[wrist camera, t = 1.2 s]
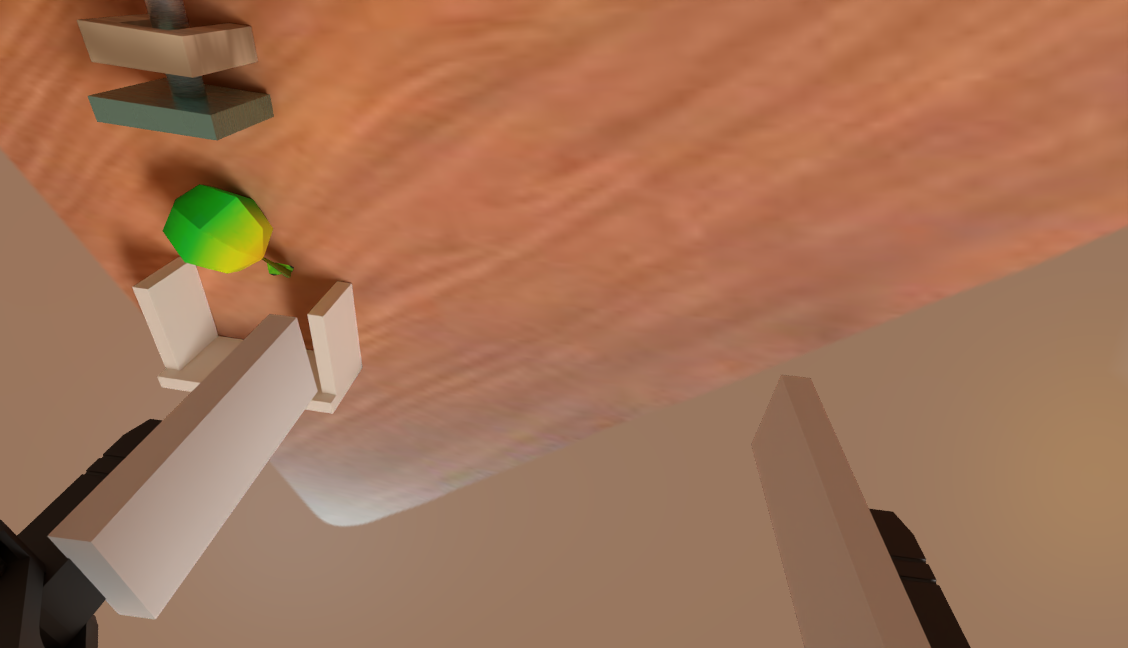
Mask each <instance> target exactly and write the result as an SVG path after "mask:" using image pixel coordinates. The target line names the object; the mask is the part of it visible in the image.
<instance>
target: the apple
mask: <svg viewBox="0 0 1128 648" xmlns="http://www.w3.org/2000/svg"><path fill="white" fill-rule="evenodd" d="M272 231H273V228H272V226H271V225H270V223H269V222H268V220H267V219H266V218H265V216H264V215H263V213H262V212H261V210H260V209H259V207H258V206H257V204H256V203H255V201H254V200H253V199H249V198H246V197H243V196H240V195H237V194H234V193H231V192H228V191H225V190H221V189H218V188H215V187H211V186H206V185H200V184H199V185H198V186H196V187H195V188H193V189H191V190H190V191H188V192H187V193H185V194H183V195H182V196H180V197H179V198H177V199H176V200H175V202H174V205H173V207H172V209H171V212H170V214H169V217H168V219H167V222H166V224H165V226H164V229H163V232H164V234H165V235H166V236H167V238H168V239H169V241H170V242H171V244H172V245H173V246H174V248H175V249H176V251H177V252H178V254H179V255H180V256H181V258H182V259H183V261H184V262H185V263H189V264H193V265H196V266H200V267H204V268H208V269H212V270H216V271H220V272H224V273H232V272H237V271H241V270H243V269H244V268H246V267H248V266H250V265H252V264H254V263H256V262H258V261H260V260H262V259H263V260H264V261H265V262H267V265H268V270H269V274H272V275H279V274H282V275H284V276H285V277H288V278H290V276H291V272H292V271H293V269H294V267H292V266H290V265H285V264H280V263H274V262H272V261H270V260H268V259H266V258H264V255H265V252H266V249H267V246H268V243H269V240H270V237H271V234H272Z"/></svg>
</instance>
